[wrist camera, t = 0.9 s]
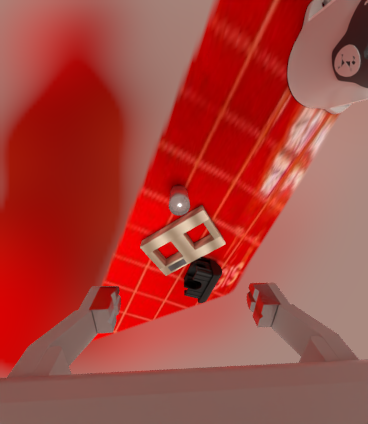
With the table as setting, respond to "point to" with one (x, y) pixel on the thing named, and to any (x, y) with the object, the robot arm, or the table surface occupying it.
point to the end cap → (201, 278)
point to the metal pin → (179, 200)
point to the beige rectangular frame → (182, 241)
